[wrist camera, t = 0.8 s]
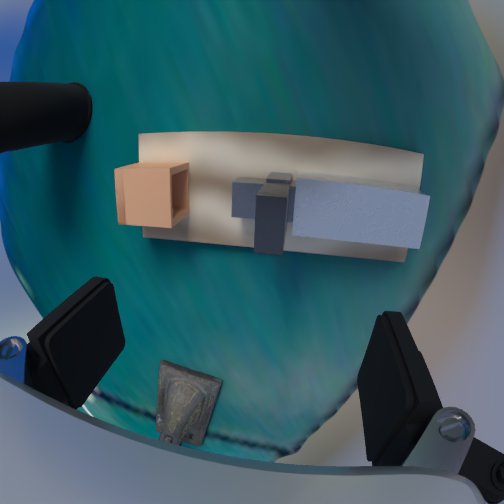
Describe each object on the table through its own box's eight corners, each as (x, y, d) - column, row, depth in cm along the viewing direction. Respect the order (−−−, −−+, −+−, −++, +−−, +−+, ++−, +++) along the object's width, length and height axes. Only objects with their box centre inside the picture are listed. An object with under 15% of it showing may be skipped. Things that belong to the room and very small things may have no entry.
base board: (145, 133, 31) (138, 134, 29) (418, 153, 27) (424, 154, 25) (148, 232, 35) (143, 237, 34) (401, 257, 32) (404, 262, 30)
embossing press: (153, 423, 53) (99, 538, 25) (162, 351, 43) (70, 518, 15) (202, 442, 52) (161, 563, 25) (230, 376, 43) (171, 562, 15)
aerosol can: (78, 70, 28) (-50, 64, 10) (102, 115, 30) (-38, 129, 12) (43, 110, 31) (-74, 128, 12) (64, 154, 33) (-59, 191, 15)
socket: (139, 162, 30) (114, 169, 26) (189, 162, 30) (169, 168, 25) (141, 210, 33) (118, 224, 28) (189, 213, 32) (171, 228, 27)
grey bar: (240, 170, 29) (211, 189, 19) (403, 187, 27) (448, 215, 17) (239, 212, 31) (211, 251, 21) (396, 228, 29) (434, 272, 19)
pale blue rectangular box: (297, 170, 28) (296, 177, 24) (411, 185, 27) (430, 195, 22) (293, 219, 30) (291, 235, 26) (403, 231, 29) (419, 249, 24)
